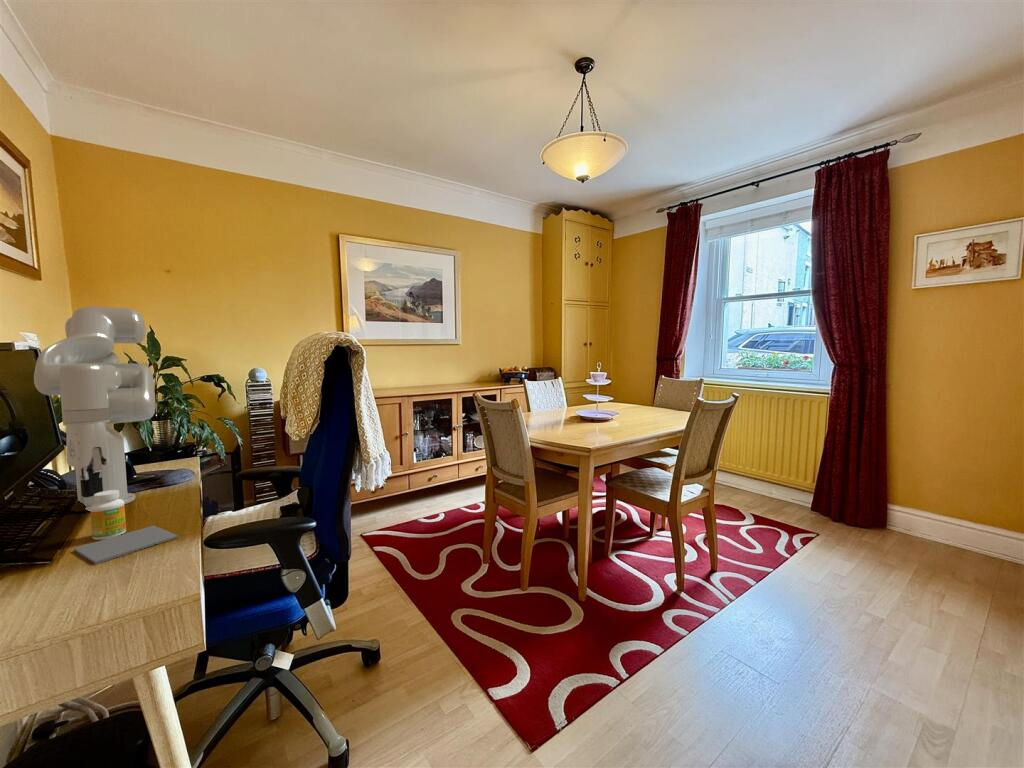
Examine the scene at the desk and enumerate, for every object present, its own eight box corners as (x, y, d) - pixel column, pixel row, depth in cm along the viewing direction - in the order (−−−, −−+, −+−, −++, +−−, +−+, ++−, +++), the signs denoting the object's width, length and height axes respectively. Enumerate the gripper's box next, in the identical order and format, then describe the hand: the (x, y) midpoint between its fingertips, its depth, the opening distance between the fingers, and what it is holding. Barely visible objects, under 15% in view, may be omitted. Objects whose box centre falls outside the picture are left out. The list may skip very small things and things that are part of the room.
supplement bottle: (105, 541, 87) (102, 497, 87) (85, 540, 88) (81, 496, 88) (132, 530, 93) (129, 489, 92) (113, 529, 94) (110, 488, 93)
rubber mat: (74, 551, 83) (73, 548, 83) (154, 527, 94) (153, 525, 94) (95, 564, 77) (95, 561, 77) (178, 538, 88) (177, 535, 88)
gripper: (52, 417, 94) (58, 495, 95) (74, 420, 87) (80, 505, 87) (97, 414, 100) (102, 486, 101) (121, 416, 93) (126, 495, 94)
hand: (92, 495), depth 94 cm, fingers closed
